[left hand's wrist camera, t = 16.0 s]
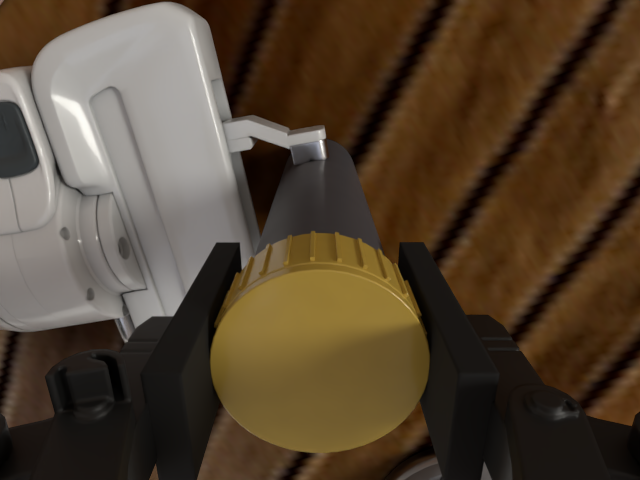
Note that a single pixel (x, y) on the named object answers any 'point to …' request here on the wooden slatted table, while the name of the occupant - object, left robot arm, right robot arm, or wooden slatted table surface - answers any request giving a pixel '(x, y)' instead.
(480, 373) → the left robot arm
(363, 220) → the dark grey slim bottle
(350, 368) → the lid
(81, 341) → the wooden slatted table surface
